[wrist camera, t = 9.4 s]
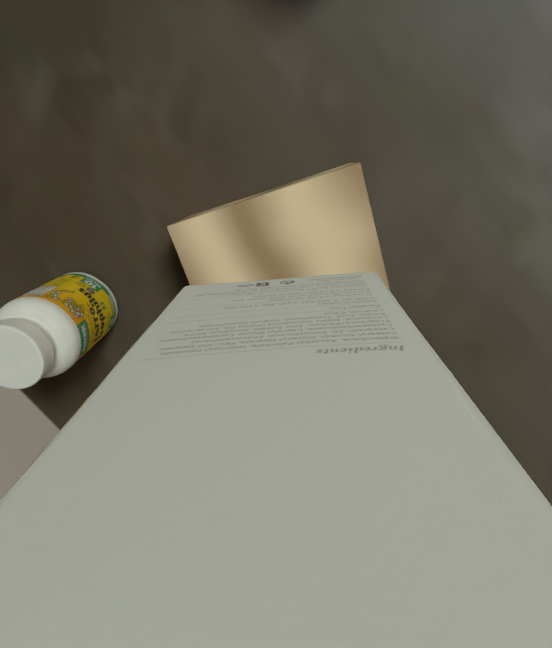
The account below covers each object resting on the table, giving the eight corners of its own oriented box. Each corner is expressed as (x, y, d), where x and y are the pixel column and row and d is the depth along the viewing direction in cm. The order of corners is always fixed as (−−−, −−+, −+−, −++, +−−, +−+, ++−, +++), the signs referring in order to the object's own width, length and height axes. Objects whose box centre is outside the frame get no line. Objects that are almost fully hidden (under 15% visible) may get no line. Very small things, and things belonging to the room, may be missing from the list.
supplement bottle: (39, 280, 32) (-60, 324, 23) (103, 263, 31) (28, 302, 22) (68, 343, 34) (-12, 408, 25) (130, 328, 33) (70, 389, 24)
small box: (181, 282, 14) (-665, 1169, 2) (378, 266, 13) (1268, 1305, 1) (216, 482, 17) (3, 1361, 4) (379, 474, 16) (648, 1422, 4)
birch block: (349, 163, 29) (360, 162, 24) (387, 321, 33) (403, 347, 28) (186, 217, 30) (166, 226, 26) (241, 361, 34) (232, 392, 30)
